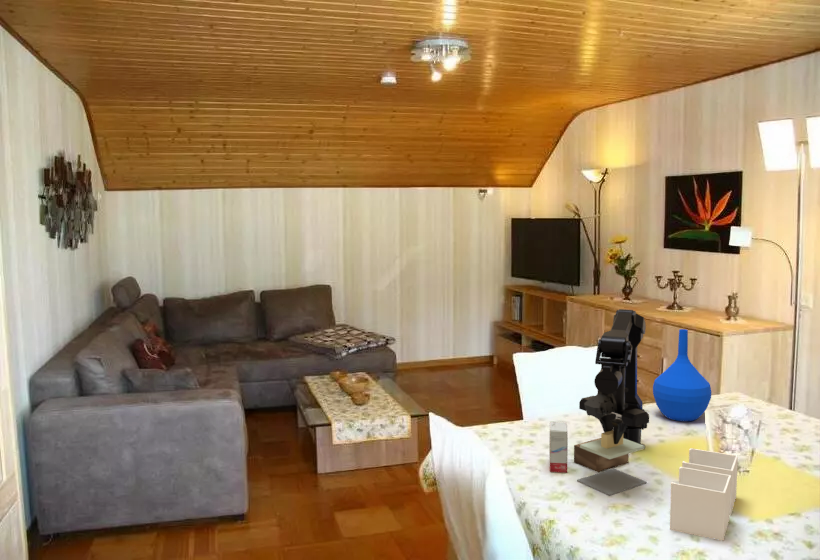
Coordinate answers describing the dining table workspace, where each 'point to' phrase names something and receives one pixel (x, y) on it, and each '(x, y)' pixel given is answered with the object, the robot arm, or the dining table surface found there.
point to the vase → (682, 387)
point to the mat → (611, 481)
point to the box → (596, 459)
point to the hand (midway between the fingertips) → (612, 442)
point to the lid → (611, 446)
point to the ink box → (558, 447)
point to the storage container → (704, 494)
